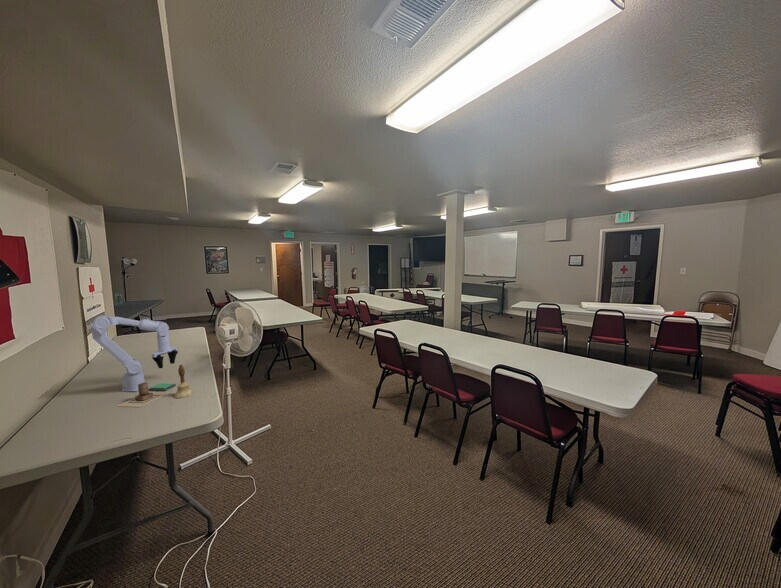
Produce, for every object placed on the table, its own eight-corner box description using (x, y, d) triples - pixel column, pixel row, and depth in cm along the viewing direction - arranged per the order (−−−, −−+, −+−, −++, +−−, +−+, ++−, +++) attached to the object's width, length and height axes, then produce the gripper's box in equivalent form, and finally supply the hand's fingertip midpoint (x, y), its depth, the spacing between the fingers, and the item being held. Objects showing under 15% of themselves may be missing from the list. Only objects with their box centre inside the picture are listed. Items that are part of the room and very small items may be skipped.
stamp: (135, 400, 147) (133, 385, 146) (145, 396, 152) (143, 381, 151) (143, 401, 146) (141, 386, 145) (153, 396, 151) (151, 382, 150)
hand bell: (197, 391, 156) (194, 362, 155) (185, 398, 148) (181, 367, 147) (182, 391, 157) (179, 362, 156) (169, 398, 149) (166, 367, 147)
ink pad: (148, 390, 160) (148, 388, 160) (160, 385, 167) (159, 382, 166) (164, 391, 158) (164, 388, 158) (175, 385, 165) (175, 383, 165)
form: (116, 406, 142) (116, 405, 142) (148, 392, 158) (148, 391, 158) (140, 407, 140) (139, 406, 140) (169, 392, 156) (169, 392, 156)
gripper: (158, 346, 163) (161, 370, 164) (180, 339, 177) (183, 361, 178) (147, 346, 164) (150, 370, 165) (170, 339, 178) (173, 361, 179)
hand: (166, 365), depth 172 cm, fingers open, 7 cm apart
